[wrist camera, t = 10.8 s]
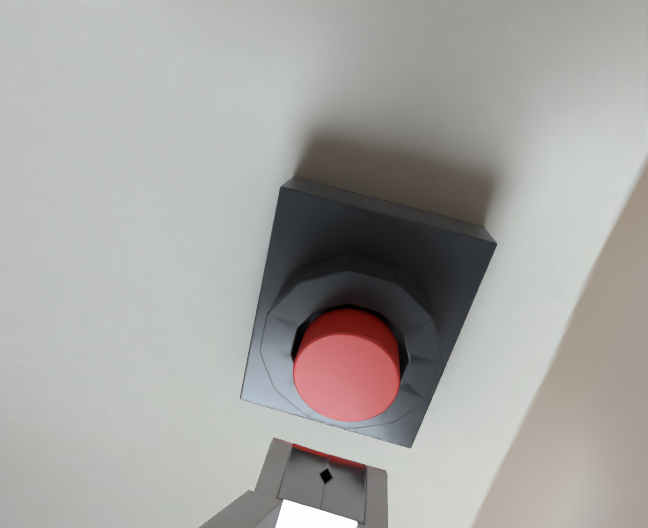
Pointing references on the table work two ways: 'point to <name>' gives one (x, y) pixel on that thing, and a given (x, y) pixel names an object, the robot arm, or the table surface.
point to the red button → (348, 365)
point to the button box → (363, 294)
